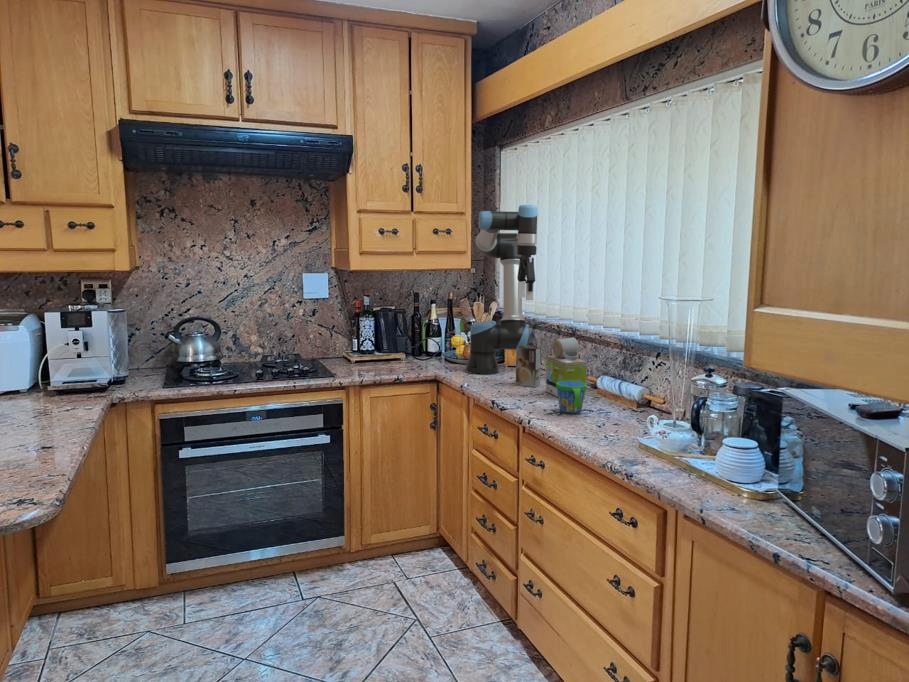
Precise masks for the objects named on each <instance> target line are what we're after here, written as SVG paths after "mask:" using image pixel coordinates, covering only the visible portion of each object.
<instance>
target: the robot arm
mask: <svg viewBox="0 0 909 682" xmlns="http://www.w3.org/2000/svg"><path fill="white" fill-rule="evenodd" d="M538 216H539V213H538V207H537V205H533V204H521V205H519V206H518V211H498V210H497V211H495V210H494V211H493V210H483V211H480V212H479V214H478V228H479V230H480V231H479V233H477V235H476V237H475V241H474V244H475V248H476V250H477V251H478V252H479V253H480V254H481V255H482V256H485V257H487V258H491V259H499V262H500V263H499V264H501V265H502V266H503V279H502V280H503V282H502V283H503V289H502V290H503V291H502V293H503V296H502V297H503V305H502V306H503V307H502V308H503V309H502V310H503V311H502V312H503V315H502V316H503V317H502V318H501V319H500V320H499V323H497V322H496V321H495V320H484V321H478V322H474V323H472V324H471V326H470V332H469V335H470V339H469V340H470V343H469V344H470V346H469V357H468V359H467V363H466V366H465V371H468V372H471V373H470V374H473V373H480V374H479V375H494V374H493V373H495V374H498V373H499V364H498V360H497V357H496V350H514V351H516V348H517V347H520V346H527V345H528V340H529V333H530V325H529V324H528V323H526V320H525V318H524V317H523V299H524V298H525V300H526V301H533V300H534V285H535V282H536V274H535V258H534V257H532V256H536V255H537V244H538V243H537V241H538V232H537V231H538ZM499 231H517V232H503V233H502V232H499ZM468 372H467V373H468Z"/></svg>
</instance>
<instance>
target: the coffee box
mask: <svg viewBox="0 0 909 682" xmlns="http://www.w3.org/2000/svg"><path fill="white" fill-rule="evenodd" d="M541 348H542V347H540V346H527V345H526V346H520V347H517V348H516V350H515V353H516V354H515V356H516V357H515V386H518V385H519V386H520V387H529V388H530V387H531V388H538V387H539V386H541V366H542V365H541V363H542V359H541V358H542V352H541V351H542V349H541Z"/></svg>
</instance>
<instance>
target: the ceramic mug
mask: <svg viewBox="0 0 909 682" xmlns="http://www.w3.org/2000/svg"><path fill="white" fill-rule="evenodd" d="M552 351H553V352H552V353H553V356H556V357H558V358H566V359H569V360H576V359H579V351H580V344H579V342H578V339H576V338H575V337H568V338H559V339H557V340H555V341H554V342H553V344H552Z"/></svg>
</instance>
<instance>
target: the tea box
mask: <svg viewBox="0 0 909 682" xmlns="http://www.w3.org/2000/svg"><path fill="white" fill-rule="evenodd" d="M545 372H546V375H545V392H547V393H550V394H551V395H553V396H555V397H557V398H558V390H557V387H556V383H557V382H559V381H579V382H583V383H586V384H587V361H585V360H582V359H580V358H577V359H576V360H569V359H566V358H558V357H556V356H555V355H552V356H551V355H550V356H546V371H545ZM586 390H587V389H586ZM586 390H585V392H587V391H586ZM585 398H586V394H585V395H584V399H585Z"/></svg>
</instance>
